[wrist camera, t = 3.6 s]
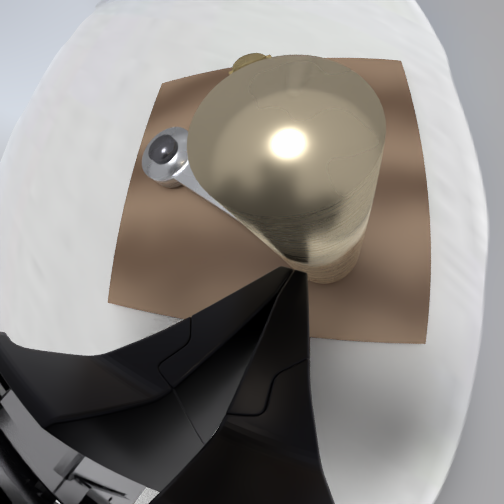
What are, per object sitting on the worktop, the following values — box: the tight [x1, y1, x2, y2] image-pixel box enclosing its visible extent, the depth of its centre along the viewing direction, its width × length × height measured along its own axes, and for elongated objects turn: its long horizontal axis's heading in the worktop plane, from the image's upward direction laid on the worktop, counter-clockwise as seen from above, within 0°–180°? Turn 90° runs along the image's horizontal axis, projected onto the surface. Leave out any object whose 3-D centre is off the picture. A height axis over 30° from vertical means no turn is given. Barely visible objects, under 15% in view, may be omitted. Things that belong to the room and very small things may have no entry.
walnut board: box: [108, 58, 431, 344], centre depth 18 cm, size 20×21×1 cm
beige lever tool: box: [142, 55, 386, 284], centre depth 12 cm, size 16×4×11 cm, turn 53°
